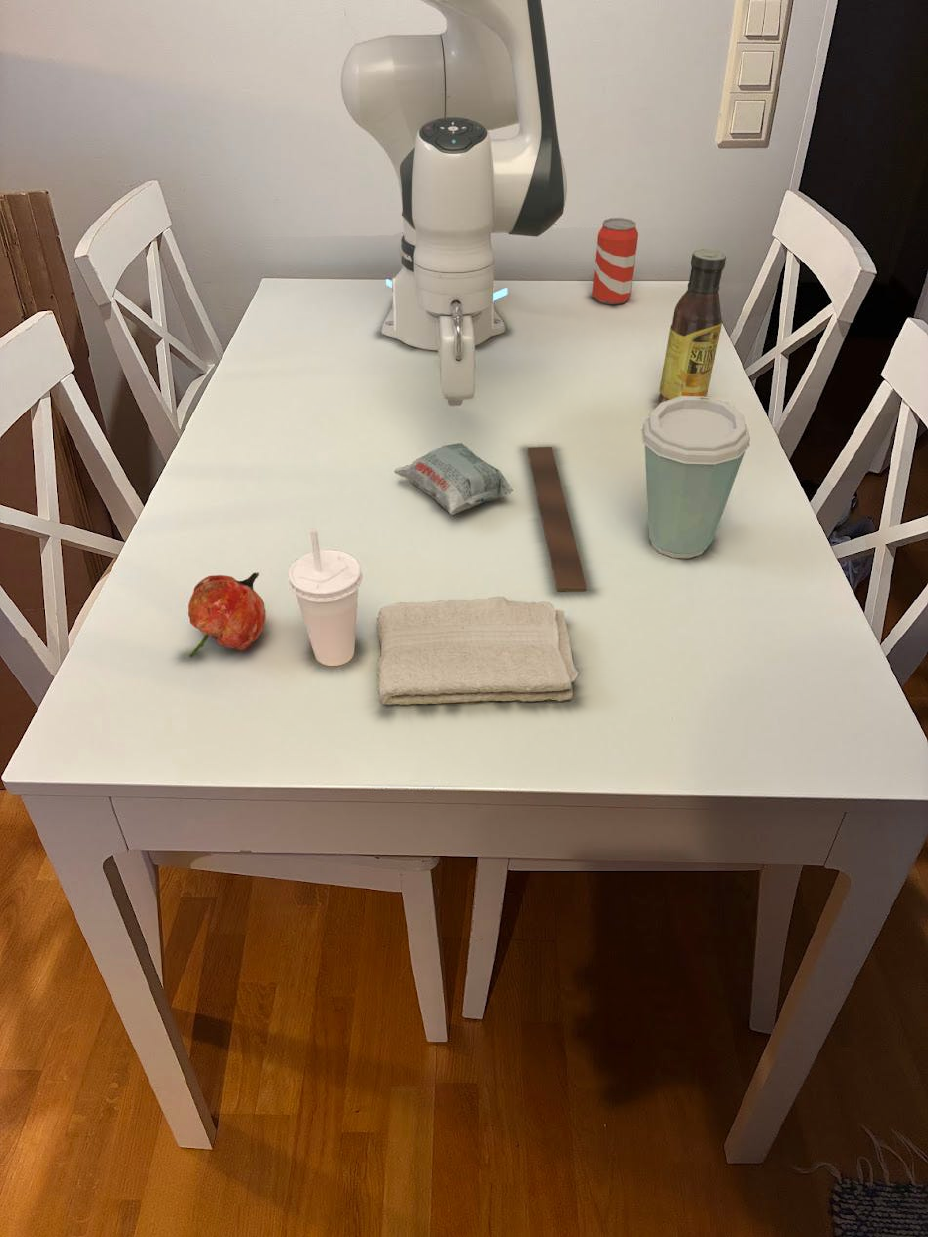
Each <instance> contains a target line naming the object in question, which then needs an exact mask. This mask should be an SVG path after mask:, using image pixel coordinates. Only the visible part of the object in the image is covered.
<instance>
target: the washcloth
mask: <svg viewBox="0 0 928 1237" xmlns="http://www.w3.org/2000/svg"><path fill="white" fill-rule="evenodd" d="M376 623H377V633H378V638H379V643H380V656H379V658H378V659H377V660H378V664H377V674H376V675H377V681H378V684H377V694H378V699H379V700H380V701H381V703H382V705H388V706H389V705H400V706H401V705H406V706H407V705H408V706H409V705H428V704H432V705H433V704H435V705H439V704H447V703H449V704H450V703H451V704H454V703H456V704H457V703H469V702H470V703H471V702H479V701H481V702H489V701H491V702H494V701H495V702H498V701H501V702H513V701H521V702H536V701H537V702H543V701H545V700H553V701H558V702H562V701H570V700H572V699H573V695H574V692H573V690H574V689H573V683H574V681H575V680H576V679H577V678H578V677H579V675H580V673H579V672H578V671H577V669H576V668H575V664H574V659H573V653H572V647H571V642H570V637H569V632H568V631H569V630H568V627H567V621H566V616H565V611H564V610H562V609H555V607H554V605H553V604H552V603H551V602H550V601H518V600H512V599H511V600H510V599H507V598H505V596H493V597H489V598H480V599H479V598H478V599H447V600H446V599H440V600H432V601H408V602H406V601H405V602H404V601H401V602H400V601H399V602H395V603H391V604H389V605H386V606H383V607H381V608H379V611H378V613H377V618H376Z"/></svg>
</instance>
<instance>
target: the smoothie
mask: <svg viewBox="0 0 928 1237" xmlns="http://www.w3.org/2000/svg"><path fill="white" fill-rule="evenodd" d="M309 532H310V539H311V548H312V552H309V553H306V554H304V555H302V556H301V557H299V558H297V559H296V560H295V561H294V562H293V563H292V565H290V567H289V569H288V585H289V588H290V590H291V591H292V592H293V594H294V595H295V597H296V600H297V604H298V606H299V610H300V612H301V616H302V619H303V623H304V625H305V628H306V633H307V634H308V638H309V642H310V645H311V648H312V652H313V654H314V658H315V660H316V661H317V662H318V663H319V664H321V665H323V666H327V667H338V666H339V667H340V666H342V665H344V664H347V663H348V662H350V661H351V660H352V659H353V657H354V655H355V650H356V649H355V648H356V647H355V646H356V631H357V630H356V629H357V618H358V617H357V615H358V601H359V600H358V598H359V588H360V586H361V584H362V582H363V577H364V576H363V572H362V566H361V563H360V562H359V560H358V559H357V558H356V557H355V556H353V555H351V554H350V553H347V552H345V551H342V550H336V549H321V550H320V542H319V537H318V536H319V535H318V530H317V529H316V528H312V529H310V531H309Z"/></svg>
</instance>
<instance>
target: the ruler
mask: <svg viewBox="0 0 928 1237" xmlns="http://www.w3.org/2000/svg"><path fill="white" fill-rule="evenodd" d="M526 452H527V455H528V461H529V466H530V469H531V470H530V471H531V475H532V480H533V485H534V490H535V493H536V494H535V495H536V498H537V503H538V508H539V513H540V518H541V523H542V527H543V533H544V536H545V541H546V546H547V551H548V555H549V560H550V565H551V570H552V574H553V580H554V584H555V589H556V592H587V589H588V588H587V583H586V580H585V575H584V572H583V567H582V563H581V559H580V555H579V551H578V548H577V542H576V539H575V535H574V531H573V527H572V523H571V518H570V515H569V511H568V508H567V503H566V499H565V495H564V492H563V487H562V483H561V480H560V475H559V471H558V467H557V464H556V460H555V456H554V451H553V447H552V446H543V447H542V446H539V447H538V446H537V447H536V446H535V447H534V446H533V447H532V446H531V447H527V449H526Z"/></svg>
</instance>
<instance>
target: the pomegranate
mask: <svg viewBox="0 0 928 1237" xmlns="http://www.w3.org/2000/svg"><path fill="white" fill-rule="evenodd" d="M259 576H260V572H253V573H252V574H250V576H248V578H245V579H244V580H237V579H236V578H234V577H233V576H231V575H222V574H220V575H219V574H218V575H217V574H215V575H208V576H206V577H204V578H203V579H201V580H200V581H199V582H197V583H196V585H195V586H194V588H193V591H192V595H191V596H190V599H189V602H188V605H187V616H188V618H189V623H190V625H191V626H193V628H195V629H197V630H199V631H200V632H201V633H203V634H205V635H204V636H203V638H202V640H201V641H200V642H199V643H198V644H197V645H196V647H195V648H194V649H193V650H192V651H190V654H188V657H190V658H192V657H193V656H194V655H195V654H196V653H198V651H199V650H200V648H202V647H203V646H205V643H206V642H207V640H208V639H209V638H210V637H212V638H213V639H215V640H216V642H217V643H218V644H219V645H221V646H222V647H227V648H231V649H234V650H235V651H237V652H241V651H244V650H246V649H248V648H249V647H250V646H251V645H253V643H254V642H255V641H256V640H257V639H258V638H259V637H260V636H261V634H262V631H263V628H264V626H265V624H266V621H267V620H266V619H267V616H266V615H267V613H266V607H265V602H264V600H263V599H262V597H261V596H260V595H259V594H258V592H256V590H255V589H254V583H255V582H256V579H257V578H258V577H259Z"/></svg>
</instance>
